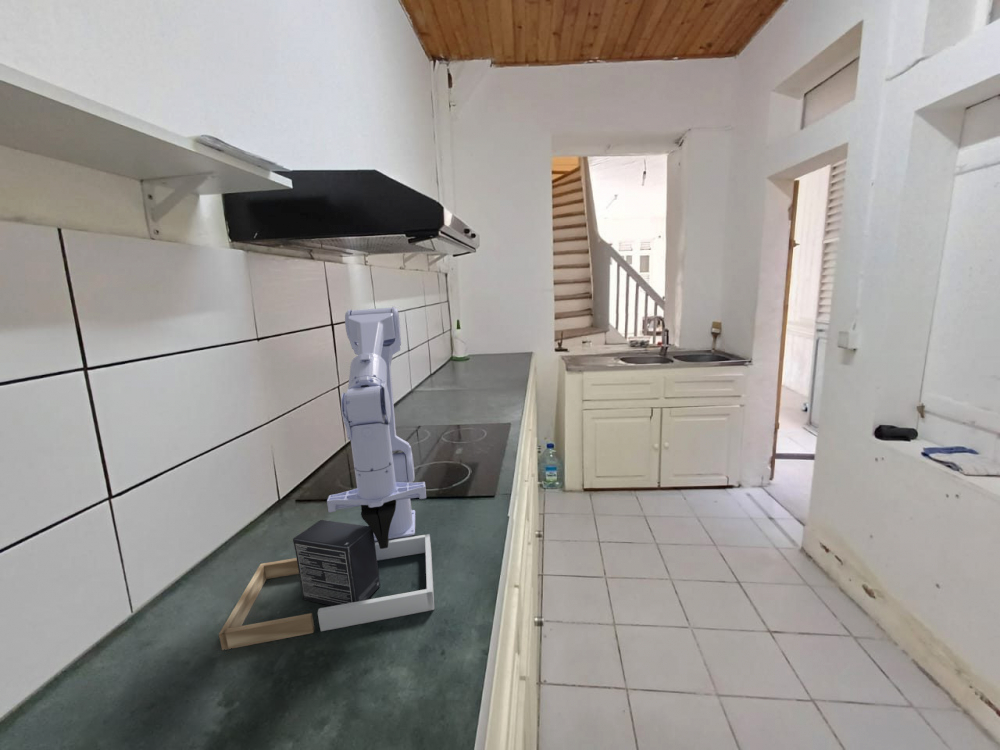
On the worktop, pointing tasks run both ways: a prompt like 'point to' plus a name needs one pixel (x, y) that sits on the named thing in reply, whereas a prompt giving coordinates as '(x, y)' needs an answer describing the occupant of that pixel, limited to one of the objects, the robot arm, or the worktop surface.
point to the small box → (337, 563)
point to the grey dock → (388, 604)
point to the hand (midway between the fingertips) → (384, 544)
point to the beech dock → (268, 630)
